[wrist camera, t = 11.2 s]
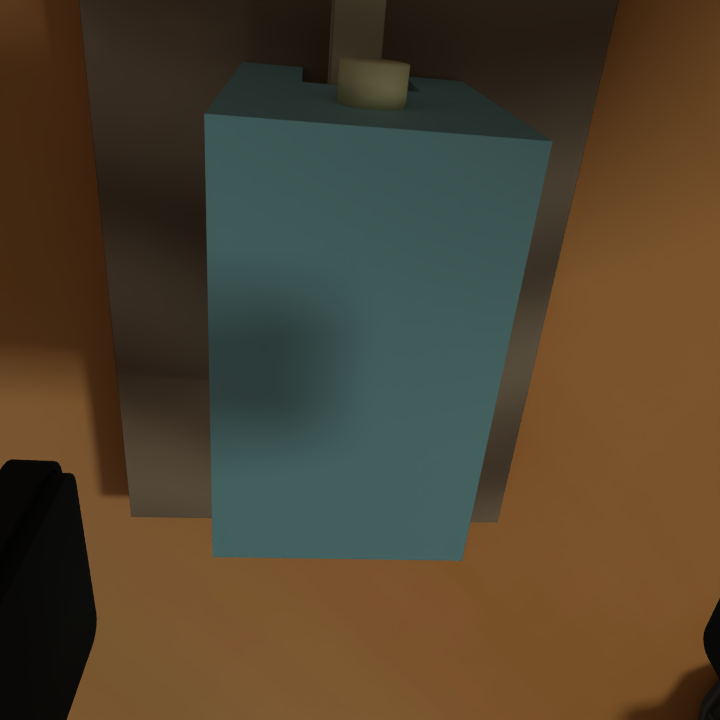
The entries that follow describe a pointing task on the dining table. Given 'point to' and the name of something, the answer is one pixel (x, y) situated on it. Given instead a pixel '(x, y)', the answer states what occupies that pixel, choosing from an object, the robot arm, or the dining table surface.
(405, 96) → the cabinet
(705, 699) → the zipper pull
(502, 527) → the dining table surface
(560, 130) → the board
